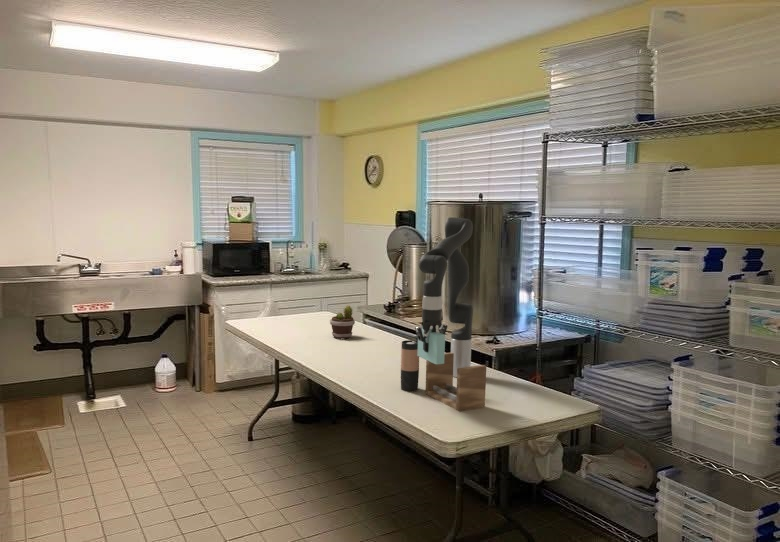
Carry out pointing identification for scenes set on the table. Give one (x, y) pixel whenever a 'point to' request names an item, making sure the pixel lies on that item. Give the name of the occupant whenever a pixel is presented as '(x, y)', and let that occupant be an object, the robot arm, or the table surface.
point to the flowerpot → (343, 324)
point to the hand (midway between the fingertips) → (430, 351)
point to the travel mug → (409, 366)
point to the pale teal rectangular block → (433, 348)
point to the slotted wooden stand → (468, 384)
